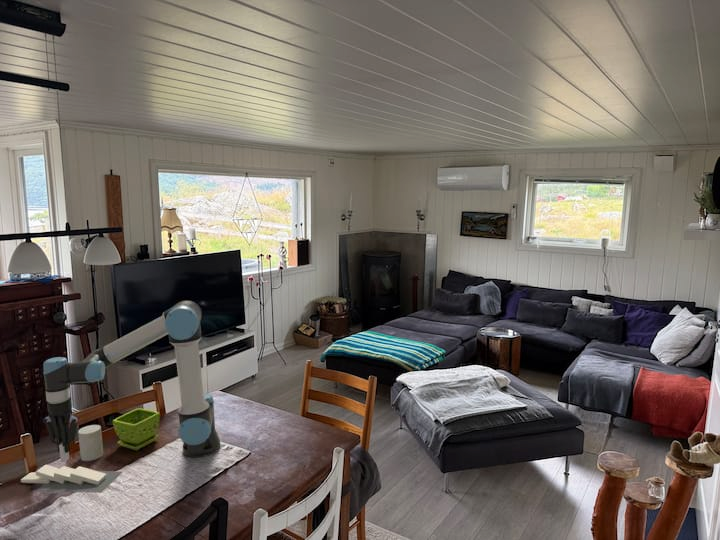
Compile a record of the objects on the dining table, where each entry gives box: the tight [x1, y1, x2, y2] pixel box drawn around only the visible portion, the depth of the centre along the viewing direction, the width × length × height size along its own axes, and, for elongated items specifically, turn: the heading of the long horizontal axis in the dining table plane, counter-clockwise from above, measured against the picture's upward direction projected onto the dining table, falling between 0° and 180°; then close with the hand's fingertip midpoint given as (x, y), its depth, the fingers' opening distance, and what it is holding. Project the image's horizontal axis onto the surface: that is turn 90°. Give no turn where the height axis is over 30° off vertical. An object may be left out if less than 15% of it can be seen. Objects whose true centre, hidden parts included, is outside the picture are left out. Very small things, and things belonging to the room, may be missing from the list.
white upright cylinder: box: [77, 424, 104, 462], centre depth 202 cm, size 8×8×12 cm
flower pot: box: [112, 407, 161, 451], centre depth 212 cm, size 14×14×13 cm
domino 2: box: [35, 464, 67, 484], centre depth 185 cm, size 2×5×11 cm
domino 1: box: [20, 471, 52, 484], centre depth 185 cm, size 2×5×11 cm
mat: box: [36, 470, 124, 494], centre depth 184 cm, size 25×14×1 cm, turn 85°
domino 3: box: [54, 465, 85, 484], centre depth 184 cm, size 2×5×11 cm
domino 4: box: [70, 466, 106, 485], centre depth 183 cm, size 2×5×11 cm
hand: (65, 460), depth 183 cm, fingers closed
